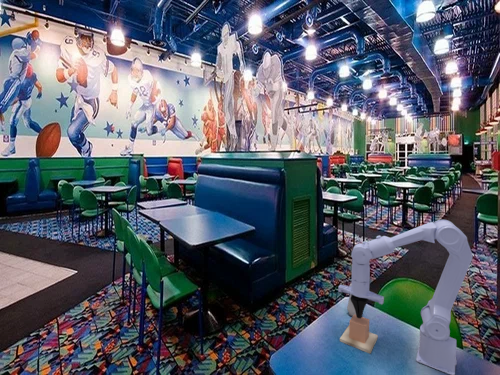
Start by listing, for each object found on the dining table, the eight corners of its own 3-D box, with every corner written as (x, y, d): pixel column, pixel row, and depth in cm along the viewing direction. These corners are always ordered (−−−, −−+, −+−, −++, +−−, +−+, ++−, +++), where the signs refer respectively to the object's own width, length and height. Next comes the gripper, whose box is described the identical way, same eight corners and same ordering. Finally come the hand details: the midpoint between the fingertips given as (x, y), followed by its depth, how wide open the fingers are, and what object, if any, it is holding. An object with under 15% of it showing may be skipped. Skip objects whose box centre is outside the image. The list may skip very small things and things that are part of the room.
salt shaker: (364, 318, 103) (365, 287, 102) (350, 318, 104) (350, 287, 103) (358, 310, 109) (359, 280, 108) (345, 310, 109) (345, 280, 108)
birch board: (377, 337, 92) (377, 335, 92) (370, 353, 84) (370, 351, 84) (349, 327, 98) (349, 324, 98) (339, 341, 90) (339, 338, 90)
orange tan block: (368, 335, 91) (369, 319, 91) (364, 343, 87) (365, 326, 87) (353, 330, 95) (354, 314, 94) (349, 337, 91) (349, 320, 90)
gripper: (386, 280, 88) (384, 318, 89) (343, 270, 97) (342, 305, 98) (381, 288, 82) (380, 328, 83) (336, 276, 91) (335, 313, 92)
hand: (359, 316), depth 90 cm, fingers closed
